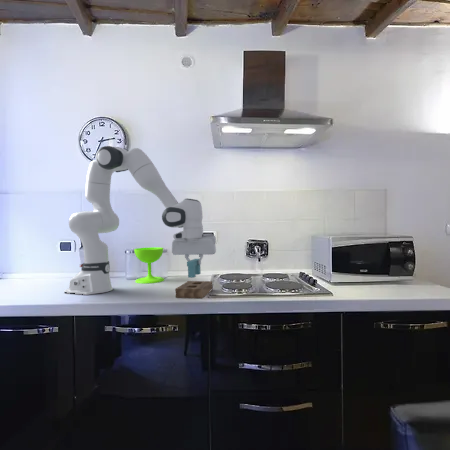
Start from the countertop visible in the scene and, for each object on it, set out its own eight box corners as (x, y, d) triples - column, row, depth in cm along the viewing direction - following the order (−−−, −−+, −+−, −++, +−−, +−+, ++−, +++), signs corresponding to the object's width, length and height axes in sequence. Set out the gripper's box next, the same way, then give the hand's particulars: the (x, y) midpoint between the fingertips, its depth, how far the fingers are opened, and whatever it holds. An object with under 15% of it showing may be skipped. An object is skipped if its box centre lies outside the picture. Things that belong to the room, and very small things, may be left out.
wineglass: (161, 283, 190) (160, 249, 190) (131, 284, 190) (130, 250, 189) (166, 278, 206) (165, 247, 206) (138, 278, 206) (137, 247, 205)
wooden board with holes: (175, 297, 155) (175, 288, 155) (188, 289, 172) (188, 281, 172) (202, 298, 152) (202, 289, 152) (212, 289, 170) (212, 281, 170)
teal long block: (187, 277, 156) (186, 261, 156) (195, 273, 168) (194, 258, 168) (193, 277, 156) (193, 261, 156) (201, 273, 167) (200, 258, 167)
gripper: (217, 233, 162) (218, 263, 163) (174, 234, 167) (175, 263, 167) (213, 234, 156) (214, 265, 157) (169, 234, 161) (170, 265, 161)
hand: (194, 264), depth 162 cm, fingers closed on teal long block, 3 cm apart
